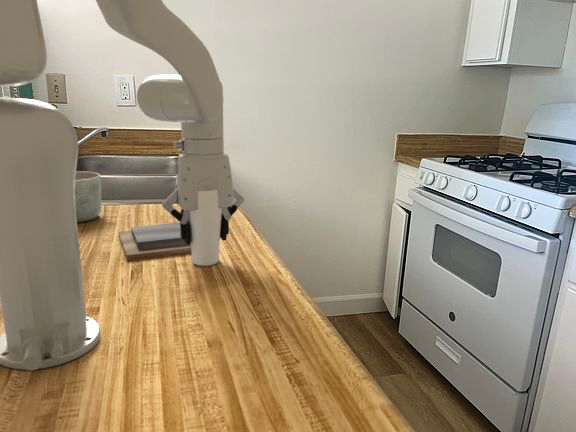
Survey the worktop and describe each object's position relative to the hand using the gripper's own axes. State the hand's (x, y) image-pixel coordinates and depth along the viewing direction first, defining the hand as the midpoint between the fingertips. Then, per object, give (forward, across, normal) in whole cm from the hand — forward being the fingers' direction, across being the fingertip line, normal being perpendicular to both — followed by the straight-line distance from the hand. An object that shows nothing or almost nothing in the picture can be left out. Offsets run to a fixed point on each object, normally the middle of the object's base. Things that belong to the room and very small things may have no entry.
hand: (205, 239), depth 92 cm
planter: (+5, -22, +41) cm, 47 cm away
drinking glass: (+5, 0, 0) cm, 5 cm away
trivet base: (+5, -6, +14) cm, 16 cm away
